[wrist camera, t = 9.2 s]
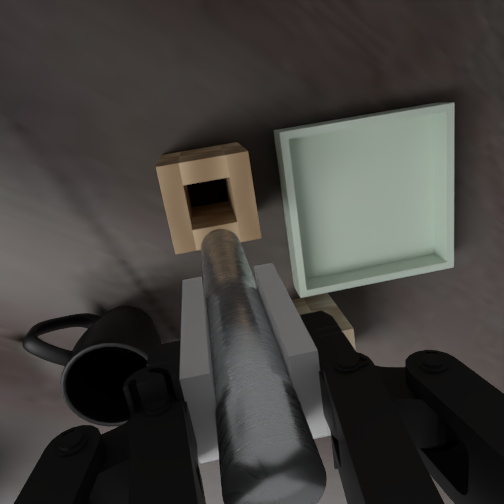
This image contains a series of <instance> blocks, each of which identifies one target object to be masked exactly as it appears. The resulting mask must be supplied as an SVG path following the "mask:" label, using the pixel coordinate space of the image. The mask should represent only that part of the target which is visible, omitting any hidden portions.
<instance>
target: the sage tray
mask: <svg viewBox="0 0 504 504" xmlns="http://www.w3.org/2000/svg"><path fill="white" fill-rule="evenodd" d="M273 132H274V140H275V147H276V155H277V162H278V170H279V178H280V185H281V193H282V200H283V208H284V216H285V223H286V231H287V238H288V246H289V254H290V261H291V269H292V276H293V284H294V287H295V289H296V291H297V293H298V294H299V296H300V298H303V297H308V296H313V295H318V294H323V293H328V292H333V291H338V290H343V289H348V288H353V287H358V286H363V285H368V284H373V283H378V282H383V281H388V280H393V279H398V278H403V277H408V276H413V275H418V274H423V273H428V272H433V271H438V270H443V269H448V268H453V267H454V103H446V102H436V103H431V104H425V105H419V106H413V107H407V108H401V109H395V110H389V111H383V112H378V113H372V114H366V115H360V116H354V117H348V118H342V119H336V120H330V121H325V122H319V123H313V124H307V125H301V126H295V127H289V128H283V129H277V130H273Z"/></svg>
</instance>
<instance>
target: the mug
mask: <svg viewBox="0 0 504 504" xmlns="http://www.w3.org/2000/svg"><path fill="white" fill-rule="evenodd" d="M69 327H85V328H88V330H87V331H86V332H85V333H84V334H83V335H82V337H81V338H80V339H79V340H78V342H77V343H76V345H75V347H74V349H73V351H69V350H65V349H62V348H59V347H56V346H53V345H51V344H48V343H46V342H44V341H42V340H40V339H39V338H38V336H39V335H42V334H45V333H48V332H51V331H55V330H59V329H64V328H69ZM160 344H161V341H160V337H159V335H158V332H157V330H156V329H155V327H154V324H153V322H152V320H151V318H150V317H149V316H148V315H147V314H146V313H145V312H143V311H142V310H140V309H137V308H134V307H119V308H115V309H113V310H111V311H109V312H108V313H107V314H106V315H104V316H103V317H102V318H101V317H100V316H97V315H95V314H89V313H83V314H75V315H69V316H64V317H59V318H55V319H50V320H46V321H43V322H40V323H38V324H36V325H35V326H33V327H32V328H31V329H30V330H29V332H28V333H27V335H26V336H25V338H24V340H23V348H24V349H25V350H26V351H28V352H29V353H31V354H33V355H35V356H37V357H39V358H42V359H44V360H47V361H50V362H53V363H56V364H59V365H63V366H65V368H64V370H63V372H62V377H61V391H62V395H63V397H64V400H65V402H66V404H67V405H68V406H69V408H70V409H71V410H72V411H73V412H74V413H75V414H76V415H78V416H79V417H80V418H82V419H84V420H86V421H88V422H91V423H94V424H97V425H102V426H121V425H123V424H124V423H126V422H127V421H128V420H130V419H131V414H130V410H129V407H128V404H127V400H126V397H125V394H124V390H123V385H124V382H125V381H126V380H127V378H128V377H129V376H130V375H132V374H133V373H135V372H136V371H138V370H140V369H143V368H145V367H147V358H148V355H149V353H150V352H151V351H152V349H153V348H154V347H155V346H156V345H160Z"/></svg>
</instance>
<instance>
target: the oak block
mask: <svg viewBox="0 0 504 504" xmlns="http://www.w3.org/2000/svg"><path fill="white" fill-rule="evenodd" d="M156 170H157V175H158V179H159V184H160V188H161V193H162V197H163V201H164V206H165V210H166V215H167V219H168V224H169V228H170V233H171V237H172V241H173V246H174V250H175V254H181V253H186V252H191V251H196V250H201V244H202V241H203V239H204V237H205V236H206V235H207V234H208V233H209V232H211V231H213V230H216V229H227V230H230V231H232V232H233V233H235V234H236V235H237V237H238V238H239V240H240V242H244V241H249V240H255V239H260V238H261V232H260V226H259V219H258V213H257V206H256V200H255V193H254V187H253V180H252V174H251V167H250V160H249V154H248V151H247V150H246V149H245V148H244V147H242V146H241V145H240V144H239V143H238V142H234V143H228V144H223V145H217V146H211V147H205V148H199V149H193V150H187V151H182V152H176V153H170V154H164V155H161V157H160V159H159V161H158V164H157V166H156ZM223 178H225V183H226V189H227V194H228V200H229V201H225V202H219V203H214V204H208V205H203V206H197V207H191V202H190V197H189V192H188V188H187V185H189V184H194V183H200V182H206V181H211V180H217V179H223Z"/></svg>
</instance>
